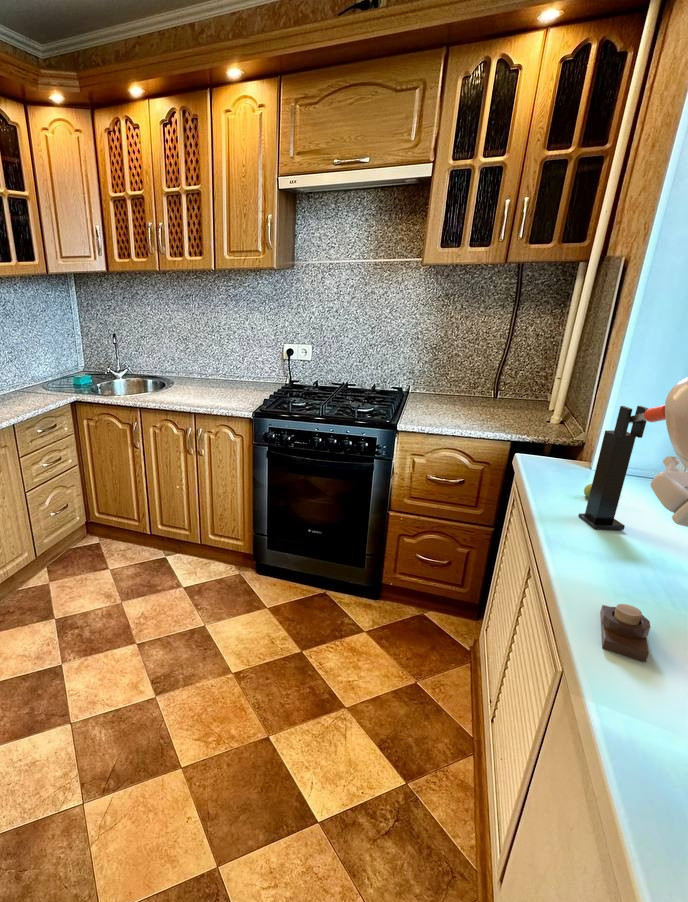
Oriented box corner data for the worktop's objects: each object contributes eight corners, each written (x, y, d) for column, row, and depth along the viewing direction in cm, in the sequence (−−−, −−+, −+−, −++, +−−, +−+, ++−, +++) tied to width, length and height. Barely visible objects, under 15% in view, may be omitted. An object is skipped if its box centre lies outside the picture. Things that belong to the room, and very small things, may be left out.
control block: (598, 613, 101) (603, 595, 99) (641, 624, 97) (646, 606, 96) (600, 649, 91) (605, 630, 90) (647, 662, 88) (653, 643, 86)
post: (623, 529, 131) (657, 409, 120) (594, 529, 132) (625, 409, 121) (605, 517, 138) (635, 402, 127) (577, 517, 138) (605, 402, 128)
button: (613, 611, 95) (615, 601, 95) (638, 617, 93) (641, 607, 93) (614, 621, 93) (616, 611, 92) (640, 628, 91) (643, 618, 90)
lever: (677, 418, 112) (676, 403, 113) (662, 418, 113) (661, 404, 113) (634, 427, 125) (633, 414, 125) (620, 427, 125) (619, 414, 125)
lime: (578, 496, 150) (584, 480, 148) (594, 495, 151) (599, 480, 149) (590, 503, 146) (596, 487, 144) (606, 502, 147) (612, 486, 145)
